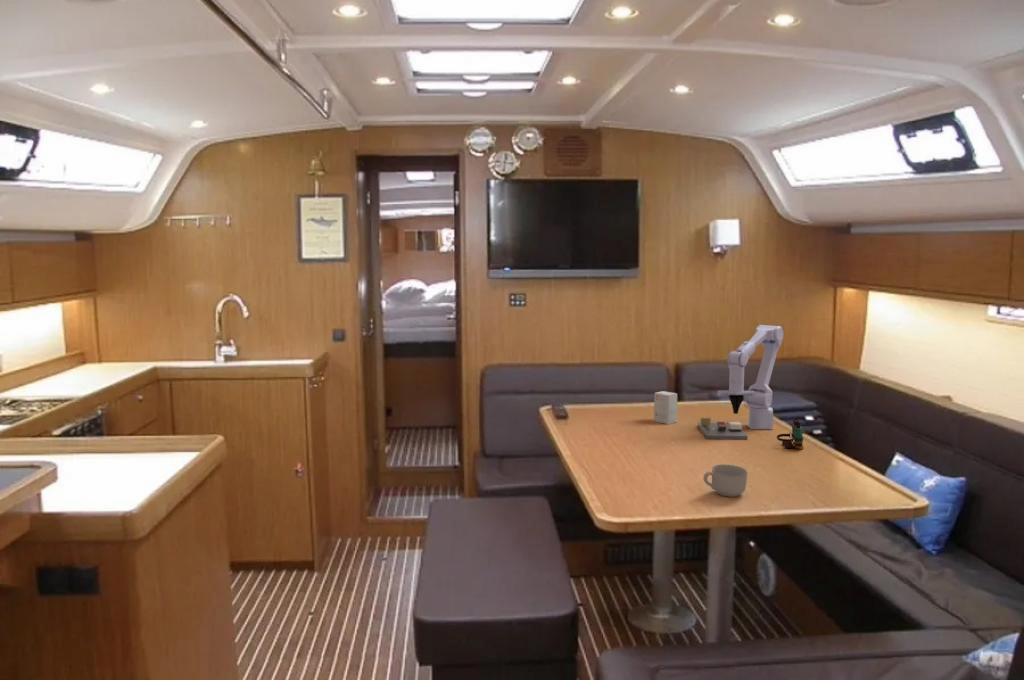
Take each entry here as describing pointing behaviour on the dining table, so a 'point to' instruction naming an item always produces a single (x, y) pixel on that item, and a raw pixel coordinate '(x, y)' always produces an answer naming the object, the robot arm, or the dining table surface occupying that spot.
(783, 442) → the figurine with basket
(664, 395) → the small box
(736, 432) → the switch panel
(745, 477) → the teacup
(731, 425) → the push button
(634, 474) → the dining table surface
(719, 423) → the rocker switch
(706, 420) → the block
